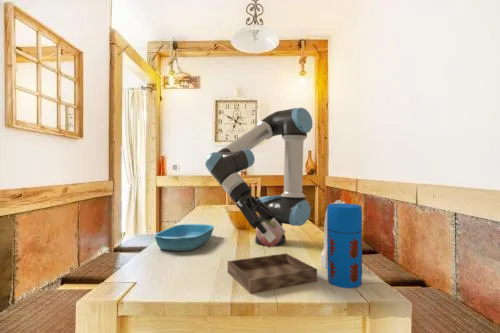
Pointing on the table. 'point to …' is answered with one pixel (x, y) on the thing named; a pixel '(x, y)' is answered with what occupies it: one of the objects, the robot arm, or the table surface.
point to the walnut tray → (271, 272)
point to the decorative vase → (324, 252)
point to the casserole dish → (183, 236)
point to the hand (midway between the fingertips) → (278, 237)
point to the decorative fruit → (274, 229)
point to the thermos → (344, 245)
